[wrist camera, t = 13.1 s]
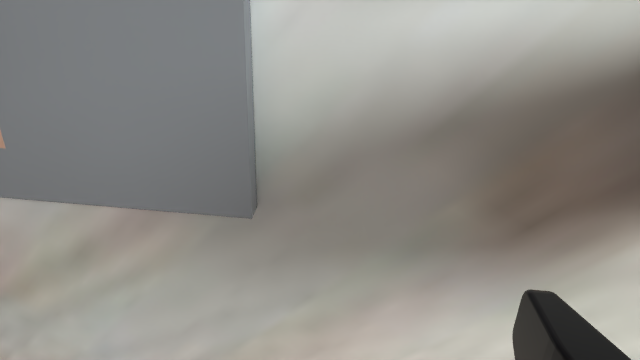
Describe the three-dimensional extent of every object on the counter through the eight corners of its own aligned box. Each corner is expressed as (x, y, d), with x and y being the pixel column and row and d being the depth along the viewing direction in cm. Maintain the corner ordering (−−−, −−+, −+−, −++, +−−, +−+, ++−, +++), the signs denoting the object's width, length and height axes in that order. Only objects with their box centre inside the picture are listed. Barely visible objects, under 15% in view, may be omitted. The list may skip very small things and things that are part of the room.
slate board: (246, -98, 18) (239, -97, 17) (257, 206, 24) (251, 218, 23) (-240, -115, 19) (-271, -115, 18) (-117, 175, 25) (-136, 186, 24)
